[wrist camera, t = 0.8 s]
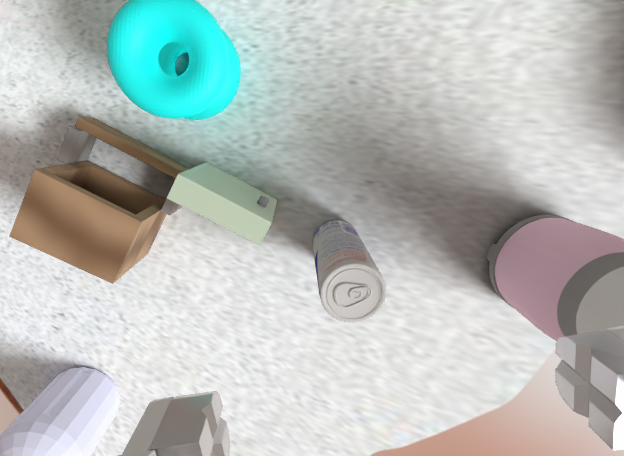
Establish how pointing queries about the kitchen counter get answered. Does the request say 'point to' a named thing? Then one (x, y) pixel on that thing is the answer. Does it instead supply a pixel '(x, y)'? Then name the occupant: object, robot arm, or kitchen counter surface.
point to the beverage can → (346, 273)
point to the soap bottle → (64, 416)
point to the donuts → (172, 58)
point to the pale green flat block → (225, 201)
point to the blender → (560, 275)
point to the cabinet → (94, 205)
